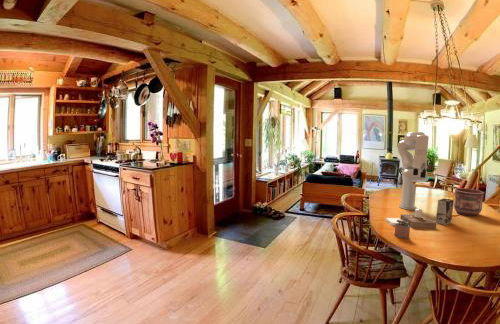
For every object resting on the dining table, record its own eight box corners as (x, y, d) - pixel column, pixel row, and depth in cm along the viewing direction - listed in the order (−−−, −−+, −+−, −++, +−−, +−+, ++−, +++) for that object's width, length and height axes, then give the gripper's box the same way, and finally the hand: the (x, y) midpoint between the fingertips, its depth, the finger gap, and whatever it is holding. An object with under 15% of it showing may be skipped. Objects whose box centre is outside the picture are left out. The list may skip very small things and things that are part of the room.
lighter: (410, 238, 161) (411, 221, 159) (408, 239, 158) (409, 223, 157) (395, 234, 166) (396, 218, 165) (393, 235, 164) (394, 219, 163)
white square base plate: (385, 220, 191) (385, 217, 191) (398, 221, 190) (398, 218, 190) (391, 225, 181) (392, 222, 181) (405, 226, 180) (406, 223, 180)
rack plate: (400, 219, 193) (400, 213, 193) (422, 220, 192) (422, 214, 191) (412, 227, 177) (412, 221, 177) (436, 228, 176) (436, 222, 176)
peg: (412, 222, 187) (413, 208, 186) (418, 222, 187) (419, 208, 185) (415, 224, 183) (417, 210, 182) (421, 225, 183) (423, 210, 181)
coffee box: (446, 225, 182) (448, 202, 180) (435, 222, 187) (437, 199, 185) (451, 222, 187) (454, 200, 185) (441, 220, 192) (443, 198, 190)
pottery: (487, 218, 197) (490, 193, 195) (460, 216, 201) (462, 192, 199) (473, 211, 215) (475, 188, 213) (448, 209, 218) (450, 187, 216)
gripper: (409, 151, 202) (407, 174, 204) (422, 153, 185) (420, 178, 187) (419, 151, 201) (417, 174, 204) (433, 153, 184) (431, 178, 186)
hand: (419, 176), depth 195 cm, fingers open, 9 cm apart
